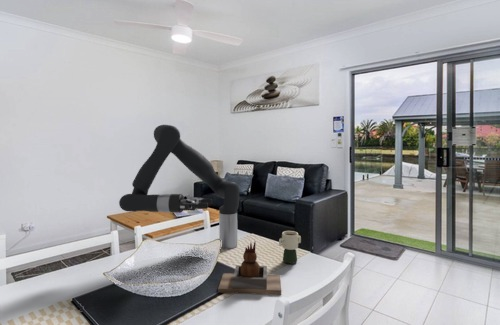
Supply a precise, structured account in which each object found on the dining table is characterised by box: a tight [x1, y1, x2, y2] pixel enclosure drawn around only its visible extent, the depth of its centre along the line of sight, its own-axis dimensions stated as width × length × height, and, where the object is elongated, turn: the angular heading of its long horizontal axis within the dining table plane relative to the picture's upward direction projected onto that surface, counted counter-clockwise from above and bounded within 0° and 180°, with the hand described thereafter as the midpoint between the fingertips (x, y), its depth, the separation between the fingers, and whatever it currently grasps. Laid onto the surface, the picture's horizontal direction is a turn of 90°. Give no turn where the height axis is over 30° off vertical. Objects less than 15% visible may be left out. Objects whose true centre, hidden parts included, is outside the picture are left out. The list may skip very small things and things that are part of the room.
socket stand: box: [217, 265, 282, 296], centre depth 105 cm, size 12×22×5 cm, turn 86°
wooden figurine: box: [240, 241, 260, 278], centre depth 105 cm, size 7×6×15 cm
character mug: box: [278, 230, 302, 265], centre depth 126 cm, size 11×7×13 cm, turn 113°
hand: (210, 203), depth 116 cm, fingers open, 8 cm apart
